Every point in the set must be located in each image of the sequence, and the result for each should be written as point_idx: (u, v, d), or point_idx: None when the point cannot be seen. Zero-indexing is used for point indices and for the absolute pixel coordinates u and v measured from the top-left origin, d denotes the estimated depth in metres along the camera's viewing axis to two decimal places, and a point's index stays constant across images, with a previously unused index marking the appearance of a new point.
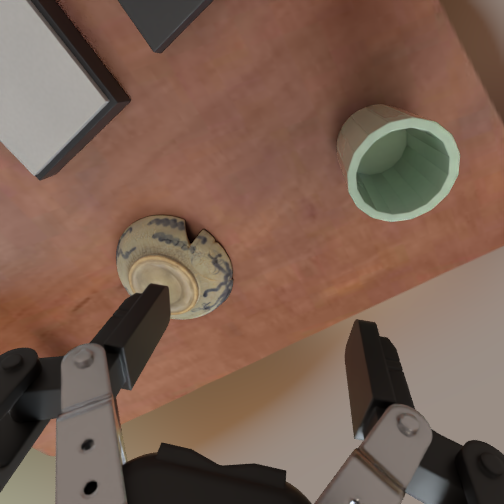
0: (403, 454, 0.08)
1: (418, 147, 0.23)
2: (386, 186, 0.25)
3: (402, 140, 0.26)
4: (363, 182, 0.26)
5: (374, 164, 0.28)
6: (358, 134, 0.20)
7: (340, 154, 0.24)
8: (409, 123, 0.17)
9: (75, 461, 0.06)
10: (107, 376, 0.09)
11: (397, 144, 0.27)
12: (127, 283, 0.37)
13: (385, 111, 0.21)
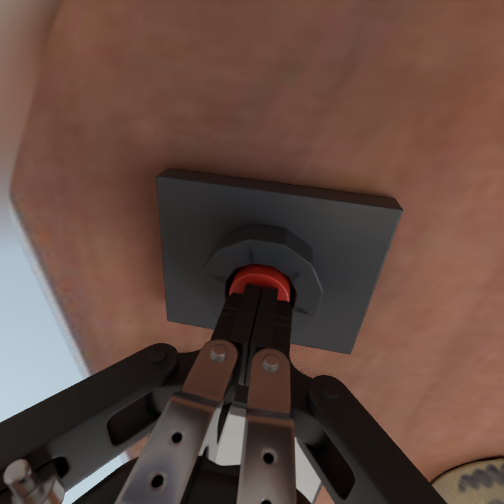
0: (256, 384, 0.09)
1: None
2: None
3: None
4: None
5: None
6: None
7: None
8: None
9: (161, 445, 0.07)
10: (226, 382, 0.09)
11: None
12: None
13: None
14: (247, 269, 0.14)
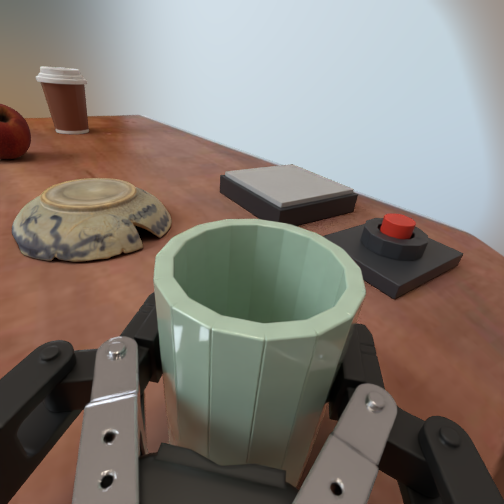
0: (367, 427, 0.08)
1: None
2: None
3: None
4: None
5: None
6: None
7: None
8: (349, 264, 0.10)
9: (96, 452, 0.07)
10: (136, 371, 0.09)
11: None
12: None
13: None
14: (414, 227, 0.29)
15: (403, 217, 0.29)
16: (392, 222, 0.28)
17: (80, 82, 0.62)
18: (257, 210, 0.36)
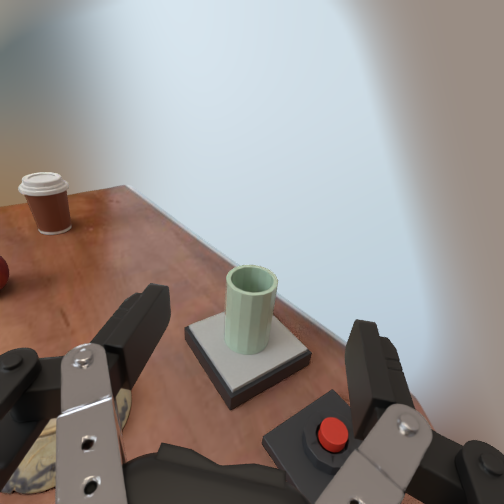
0: (403, 454, 0.08)
1: None
2: None
3: None
4: None
5: None
6: None
7: None
8: (275, 279, 0.38)
9: (75, 461, 0.06)
10: (107, 376, 0.09)
11: None
12: None
13: None
14: None
15: (338, 425, 0.32)
16: (325, 437, 0.31)
17: (61, 190, 0.64)
18: (214, 381, 0.39)
